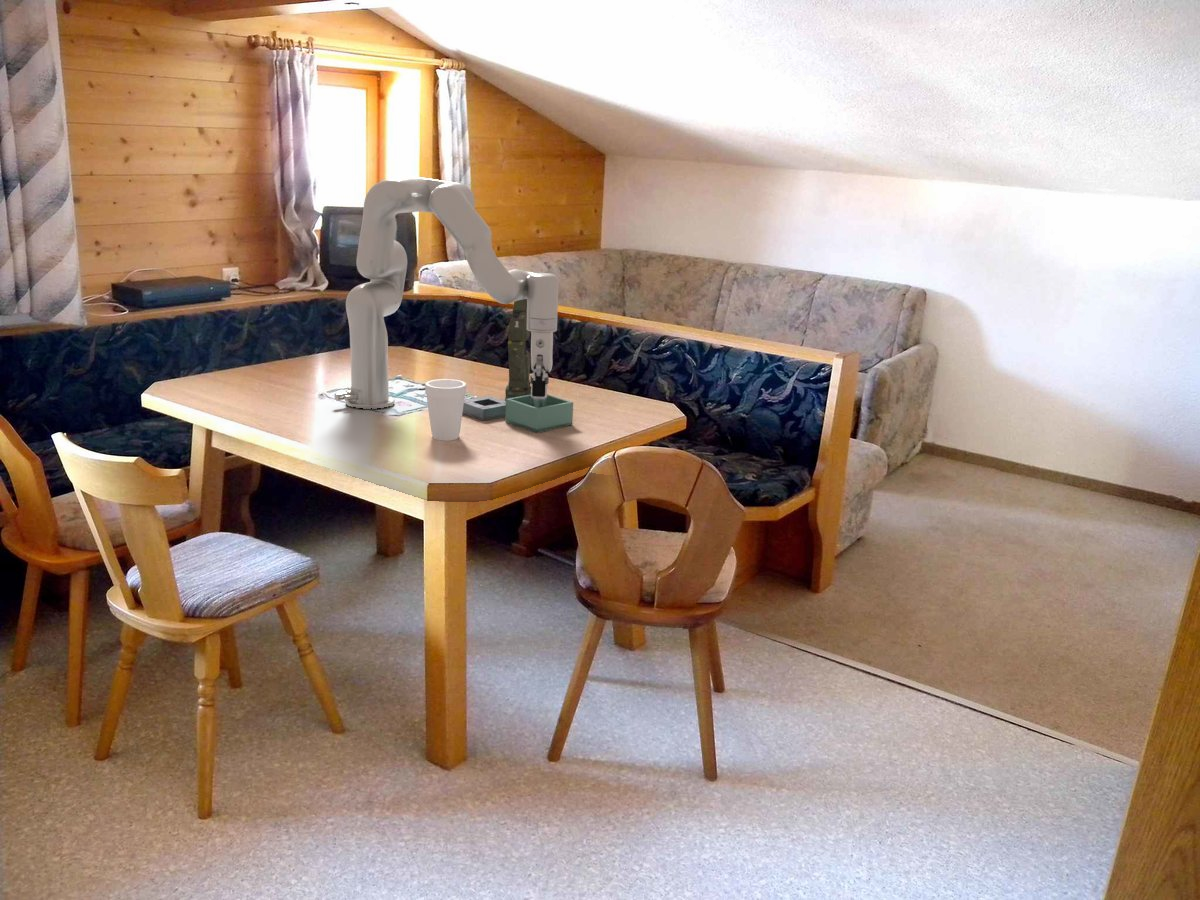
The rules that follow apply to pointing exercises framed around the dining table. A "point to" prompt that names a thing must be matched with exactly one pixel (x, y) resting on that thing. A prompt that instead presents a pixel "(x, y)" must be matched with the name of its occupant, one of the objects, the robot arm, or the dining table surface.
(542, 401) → the metal peg
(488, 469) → the dining table surface
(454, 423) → the foam cup
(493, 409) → the socket block
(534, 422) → the bin
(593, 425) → the dining table surface
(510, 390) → the mechanical leg
